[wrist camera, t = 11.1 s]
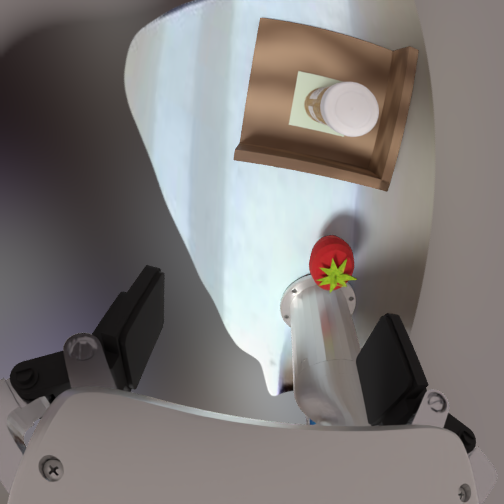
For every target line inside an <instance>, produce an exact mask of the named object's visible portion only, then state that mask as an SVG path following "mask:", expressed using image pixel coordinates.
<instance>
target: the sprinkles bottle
mask: <svg viewBox="0 0 504 504" xmlns="http://www.w3.org/2000/svg"><path fill="white" fill-rule="evenodd" d="M304 107H305V110H306V113H307V115H308V116H309V117H310V118H311V119H312V120H314V121H316V122H318V123H322V124H324V125H327V126H329V127H330V128H331V129H332V130H334V131H336V132H338V133H340V134H342V135H345V136H349V137H358V136H362V135H364V134H366V133H368V132H369V131H371V130H372V129H373V127H374V126H375V124H376V122H377V120H378V117H379V107H378V103H377V100H376V98H375V96H374V95H373V93H372V92H371V91H370V90H369V89H368V88H366V87H365V86H363V85H361V84H359V83H356V82H340V83H336V84H334V85H332V86H328V87H323V88H317V89H314V90H313V91H311V92H310V93H309V94H308V95H307V96H306V99H305V102H304Z"/></svg>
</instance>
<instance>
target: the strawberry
mask: <svg viewBox="0 0 504 504" xmlns="http://www.w3.org/2000/svg"><path fill="white" fill-rule="evenodd" d="M309 269H310V273H311V276H312V278H313V279H314V281H315V283H316V284H317V285H318V286H319V287H320V288H322V289H325V290H330V293H331V292H332V290H336V289H339V288H341V287H347V285H346V283H347V282H348V281H349V280H357V279H356V278H354V277H352V273H353V270H354V258H353V252H352V250H351V248H350V246H349V245H348V244H347V243H346V242H345V241H344V240H342V239H341V238H339V237H337V236H334V235H329V236H325V237H322V238H321V239H320V240H318V241H317V242H316V244H315V245H314V247H313V249H312V252H311V256H310V261H309ZM330 293H329V294H330Z"/></svg>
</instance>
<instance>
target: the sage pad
mask: <svg viewBox="0 0 504 504" xmlns="http://www.w3.org/2000/svg"><path fill="white" fill-rule="evenodd" d="M340 82H342V81H339V80H335V79H331V78H327V77H323V76H319V75H314V74H310V73H305V72H301V71H298V76H297V81H296V87H295V92H294V98H293V103H292V109H291V115H290V120H289V125H293V126H298V127H303V128H308V129H312V130H317V131H321V132H326V133H330V134H334V135H338V136H342V137H344V135H342V134H340V133H338V132H336V131H334V130H332V129H331V128H330V127H329V126H327V125H324V124H322V123H318V122H316V121H314V120H312V119H311V118H310V117H309V116H308V115H307V113H306V110H305V107H304V102H305V99H306V96H307V95H308V94H309V93H310V92H311V91H313V90H314V89H317V88H323V87H328V86H332V85H334V84H336V83H340Z"/></svg>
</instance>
